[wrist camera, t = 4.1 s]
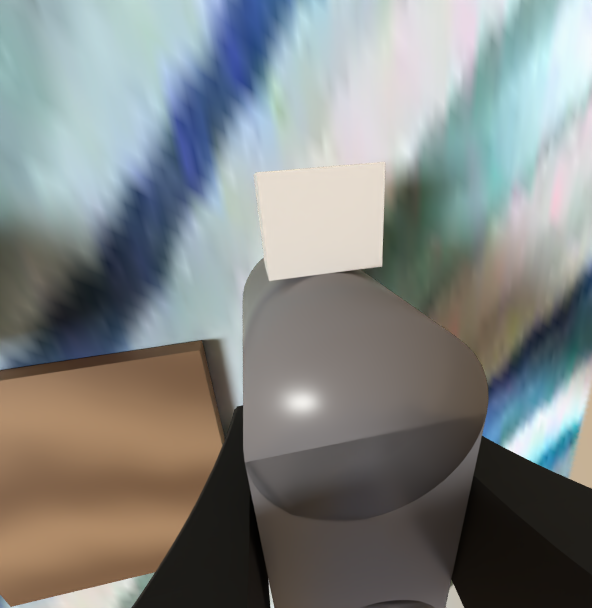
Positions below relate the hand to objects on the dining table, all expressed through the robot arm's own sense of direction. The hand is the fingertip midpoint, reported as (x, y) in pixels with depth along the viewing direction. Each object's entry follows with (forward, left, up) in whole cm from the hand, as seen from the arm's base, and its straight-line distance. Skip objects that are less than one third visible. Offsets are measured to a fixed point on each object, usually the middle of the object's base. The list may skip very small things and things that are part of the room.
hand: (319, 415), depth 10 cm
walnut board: (-5, +10, -4) cm, 12 cm away
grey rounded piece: (0, 0, -2) cm, 2 cm away
